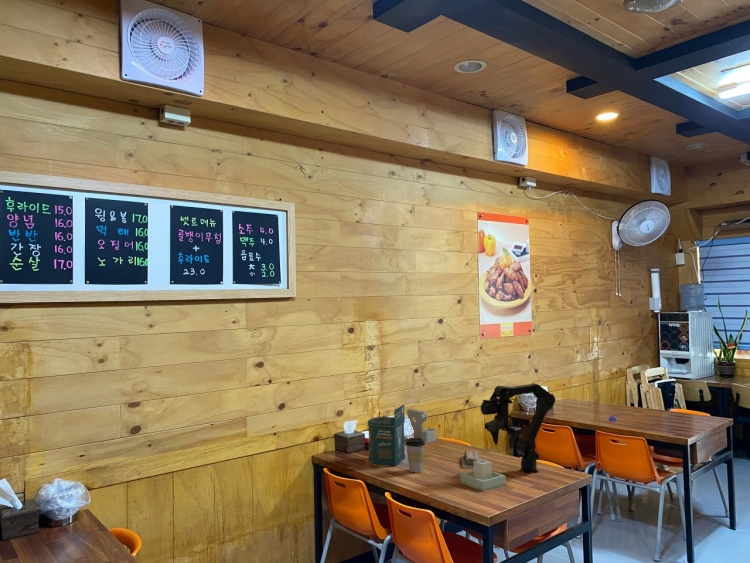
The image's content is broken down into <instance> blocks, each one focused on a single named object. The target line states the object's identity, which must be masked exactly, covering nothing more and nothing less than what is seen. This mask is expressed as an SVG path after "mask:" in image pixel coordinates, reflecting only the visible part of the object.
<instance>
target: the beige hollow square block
mask: <svg viewBox="0 0 750 563" xmlns="http://www.w3.org/2000/svg"><path fill="white" fill-rule="evenodd" d="M480 459H481V458H480ZM473 462H474V468H473V471H474V478H477V479H480V480H487V479H491V478H492V472H493V471H492V469H493V468H492V467H493V466H492V465H493V464H492V461H489V460H486V459H483V458H482V459H481V460H477V461H473Z"/></svg>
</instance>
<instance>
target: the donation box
mask: <svg viewBox="0 0 750 563" xmlns="http://www.w3.org/2000/svg"><path fill="white" fill-rule="evenodd" d="M393 412H394V413H393V414H394V417H393V416H379V417H377V416H376V417H372V418H370V419H369V420H367V426H368V459H367V460H368V461H367V462H368V463H369V464H372V465H373V464H375V466H382V465H388V466H387V467H393V466H396V467H397V466H398V465H399V464H400V463H402V462H403V461H404V460H405V459H406V453H405V420H406V419H405V404H402V405H401V406H399V407H397V408H395V409H394V411H393ZM402 460H403V461H402ZM401 461H402V462H401Z"/></svg>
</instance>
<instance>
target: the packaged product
mask: <svg viewBox="0 0 750 563" xmlns="http://www.w3.org/2000/svg"><path fill="white" fill-rule="evenodd" d="M460 460H461V461H460V462H461V467H462V469H474V462H473V461H477V460H481V457H480V456H479V454H478V451H476V450H464V454H463V455H461V456H460Z"/></svg>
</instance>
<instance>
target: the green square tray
mask: <svg viewBox="0 0 750 563" xmlns="http://www.w3.org/2000/svg"><path fill="white" fill-rule="evenodd" d="M459 475H460V484H462V485H466V486H468V487H471V488H474V489H476V490H479V491H481V492H485V491H489V490H492V489H493V490H494V489H496V488H500V487H503V486H506V485H507V480H506V479H507V478H506V475H504V474H502V473H499V472H495V471H492V478H491V479H487V480H480V479H477V478H474V470H471V471H466V472H463V473H460V474H459Z"/></svg>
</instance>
